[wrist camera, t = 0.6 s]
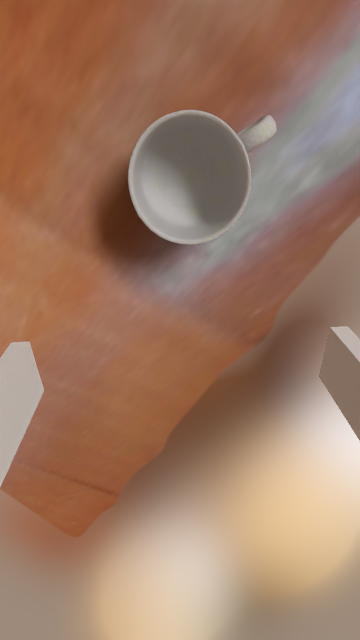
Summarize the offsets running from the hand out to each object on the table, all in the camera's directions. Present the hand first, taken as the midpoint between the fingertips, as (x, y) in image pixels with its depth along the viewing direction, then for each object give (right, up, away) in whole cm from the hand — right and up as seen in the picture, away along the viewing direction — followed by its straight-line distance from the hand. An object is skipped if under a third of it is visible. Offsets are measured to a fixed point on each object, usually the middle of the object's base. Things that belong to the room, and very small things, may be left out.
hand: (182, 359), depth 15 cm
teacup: (+2, +18, +21) cm, 27 cm away
